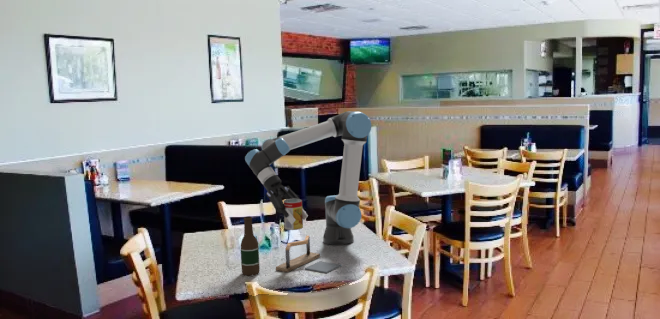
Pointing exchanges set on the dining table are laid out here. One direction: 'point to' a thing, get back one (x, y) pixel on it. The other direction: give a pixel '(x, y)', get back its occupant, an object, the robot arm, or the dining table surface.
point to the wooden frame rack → (299, 260)
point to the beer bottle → (249, 250)
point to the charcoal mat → (323, 267)
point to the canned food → (294, 214)
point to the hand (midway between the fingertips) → (299, 220)
